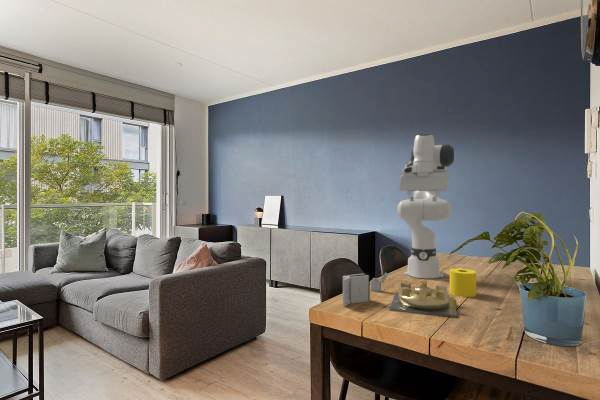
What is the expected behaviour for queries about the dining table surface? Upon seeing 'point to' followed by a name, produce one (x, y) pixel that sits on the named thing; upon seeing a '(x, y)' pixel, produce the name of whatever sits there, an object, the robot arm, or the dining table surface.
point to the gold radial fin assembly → (423, 296)
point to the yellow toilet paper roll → (463, 282)
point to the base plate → (448, 311)
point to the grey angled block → (377, 283)
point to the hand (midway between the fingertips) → (422, 201)
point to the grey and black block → (356, 288)
